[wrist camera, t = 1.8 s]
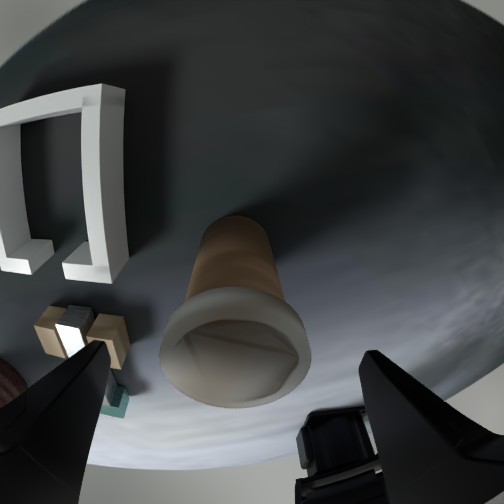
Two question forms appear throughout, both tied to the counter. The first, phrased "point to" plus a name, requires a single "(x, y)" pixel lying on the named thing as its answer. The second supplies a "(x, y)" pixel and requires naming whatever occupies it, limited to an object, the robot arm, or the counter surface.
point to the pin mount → (102, 329)
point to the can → (9, 384)
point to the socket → (94, 184)
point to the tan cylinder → (235, 324)
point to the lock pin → (74, 338)
